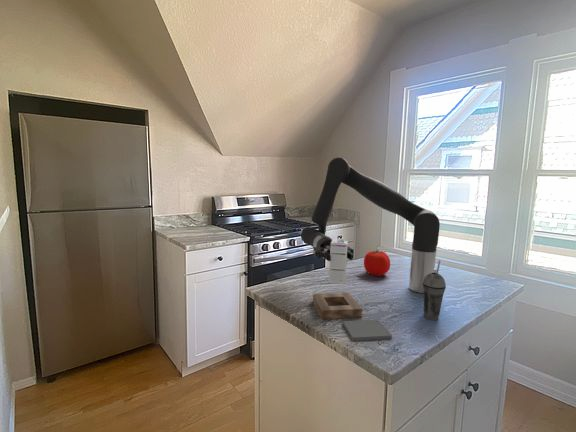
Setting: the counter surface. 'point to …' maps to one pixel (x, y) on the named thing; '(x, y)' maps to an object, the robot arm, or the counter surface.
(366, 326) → the charcoal rubber mat
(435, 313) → the beverage cup
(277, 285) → the counter surface
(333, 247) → the syrup box
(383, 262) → the tomato
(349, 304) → the walnut socket stand
